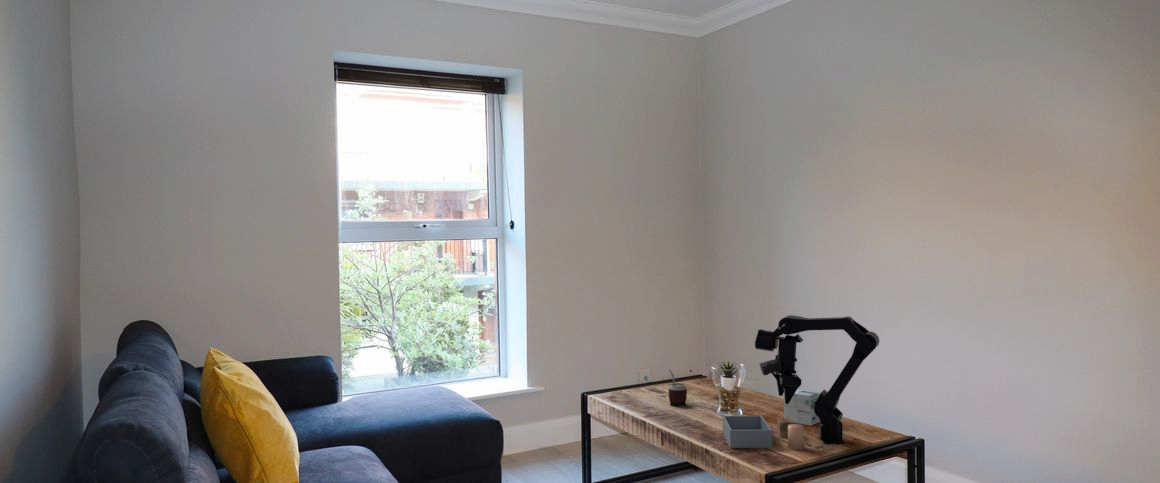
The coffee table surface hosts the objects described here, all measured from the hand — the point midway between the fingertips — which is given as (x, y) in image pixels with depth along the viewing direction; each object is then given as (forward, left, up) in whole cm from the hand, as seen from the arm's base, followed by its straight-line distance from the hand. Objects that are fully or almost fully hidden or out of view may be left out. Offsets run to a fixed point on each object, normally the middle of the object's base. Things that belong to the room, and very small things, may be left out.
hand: (783, 399), depth 254 cm
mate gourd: (+32, -40, -12) cm, 53 cm away
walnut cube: (-1, 0, -12) cm, 12 cm away
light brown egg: (-1, +14, -12) cm, 18 cm away
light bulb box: (-10, -16, -12) cm, 22 cm away
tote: (+13, +5, -12) cm, 19 cm away
